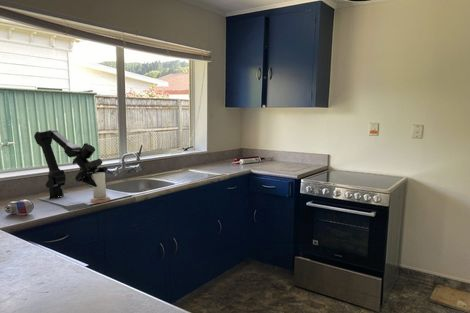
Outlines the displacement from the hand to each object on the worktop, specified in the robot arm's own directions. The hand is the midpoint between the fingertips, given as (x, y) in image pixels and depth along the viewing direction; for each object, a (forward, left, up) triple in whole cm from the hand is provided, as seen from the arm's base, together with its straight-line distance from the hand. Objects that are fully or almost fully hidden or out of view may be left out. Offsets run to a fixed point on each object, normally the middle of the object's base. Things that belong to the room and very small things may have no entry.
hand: (101, 185), depth 183 cm
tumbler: (-1, +1, -6) cm, 7 cm away
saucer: (-1, +1, -9) cm, 9 cm away
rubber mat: (-11, -9, -9) cm, 17 cm away
